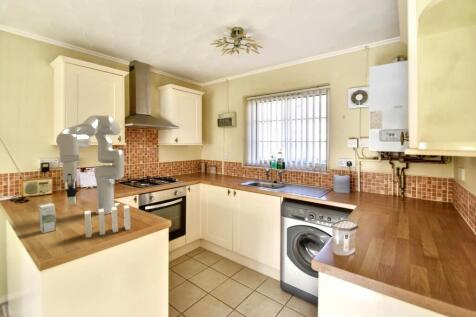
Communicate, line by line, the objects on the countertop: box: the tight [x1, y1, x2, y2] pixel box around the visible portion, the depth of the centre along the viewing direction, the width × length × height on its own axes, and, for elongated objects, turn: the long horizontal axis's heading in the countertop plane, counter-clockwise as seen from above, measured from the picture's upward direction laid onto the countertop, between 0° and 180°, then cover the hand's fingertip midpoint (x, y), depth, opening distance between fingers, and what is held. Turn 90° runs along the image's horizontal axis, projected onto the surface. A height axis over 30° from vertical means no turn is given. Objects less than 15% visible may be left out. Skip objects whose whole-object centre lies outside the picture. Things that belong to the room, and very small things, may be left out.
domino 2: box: [98, 209, 106, 236], centre depth 121 cm, size 2×6×12 cm, turn 32°
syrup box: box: [38, 202, 57, 234], centre depth 123 cm, size 6×6×14 cm
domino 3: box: [111, 206, 119, 233], centre depth 124 cm, size 2×6×12 cm, turn 32°
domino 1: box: [84, 209, 93, 239], centre depth 118 cm, size 2×6×12 cm, turn 32°
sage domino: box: [67, 181, 77, 206], centre depth 113 cm, size 2×6×12 cm, turn 32°
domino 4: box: [123, 204, 131, 231], centre depth 127 cm, size 2×6×12 cm, turn 32°
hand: (71, 195), depth 113 cm, fingers closed on sage domino, 5 cm apart
